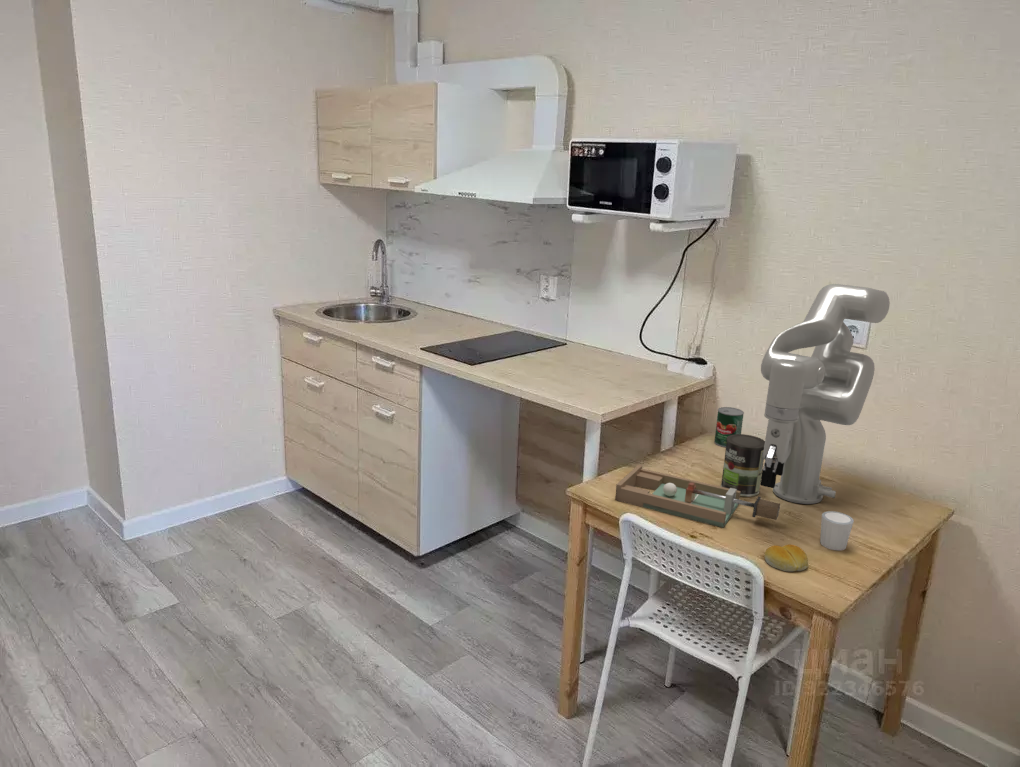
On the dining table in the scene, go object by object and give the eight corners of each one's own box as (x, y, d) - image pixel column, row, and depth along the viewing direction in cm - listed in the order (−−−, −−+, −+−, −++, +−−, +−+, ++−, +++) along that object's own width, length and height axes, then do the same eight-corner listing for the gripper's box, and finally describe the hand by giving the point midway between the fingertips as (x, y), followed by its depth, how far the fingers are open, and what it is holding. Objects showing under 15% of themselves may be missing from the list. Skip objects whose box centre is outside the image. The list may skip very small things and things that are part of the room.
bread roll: (757, 555, 167) (760, 539, 166) (795, 554, 168) (797, 538, 167) (774, 574, 159) (777, 557, 158) (814, 572, 160) (816, 556, 159)
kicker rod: (778, 517, 182) (781, 500, 181) (775, 524, 178) (777, 507, 177) (689, 495, 193) (691, 479, 191) (684, 502, 189) (685, 486, 187)
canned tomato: (739, 441, 239) (743, 408, 235) (740, 449, 231) (744, 416, 228) (714, 438, 241) (718, 405, 237) (713, 446, 233) (717, 413, 230)
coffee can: (742, 500, 195) (748, 450, 191) (712, 485, 203) (718, 437, 199) (768, 492, 200) (775, 443, 196) (738, 478, 209) (744, 431, 205)
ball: (677, 495, 194) (679, 482, 193) (673, 499, 191) (675, 487, 190) (665, 491, 195) (666, 479, 194) (660, 496, 192) (661, 484, 191)
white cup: (812, 537, 176) (816, 510, 174) (839, 537, 176) (844, 510, 174) (825, 551, 169) (830, 524, 167) (854, 551, 170) (859, 524, 168)
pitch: (738, 504, 192) (741, 481, 191) (723, 527, 179) (726, 504, 177) (636, 479, 205) (638, 458, 204) (615, 500, 192) (617, 477, 190)
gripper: (792, 424, 164) (781, 495, 169) (804, 406, 179) (793, 473, 183) (757, 417, 168) (747, 487, 172) (772, 401, 183) (762, 466, 187)
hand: (771, 480), depth 178 cm, fingers open, 9 cm apart
